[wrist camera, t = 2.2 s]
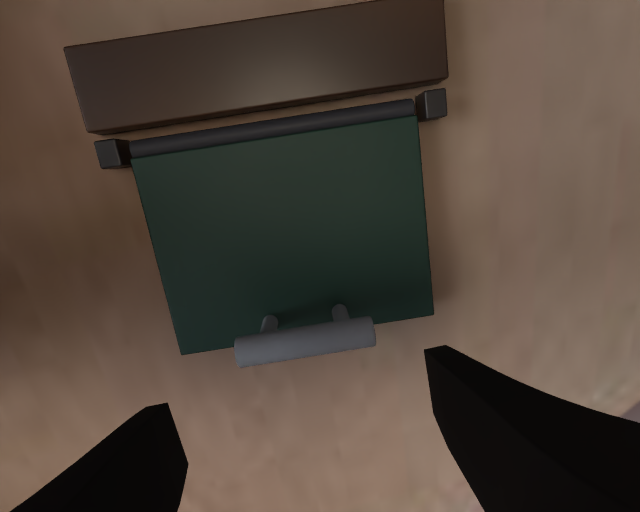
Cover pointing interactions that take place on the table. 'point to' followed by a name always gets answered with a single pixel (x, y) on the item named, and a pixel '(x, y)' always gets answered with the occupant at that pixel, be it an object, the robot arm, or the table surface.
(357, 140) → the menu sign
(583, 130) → the table surface
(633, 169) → the table surface
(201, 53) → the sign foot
